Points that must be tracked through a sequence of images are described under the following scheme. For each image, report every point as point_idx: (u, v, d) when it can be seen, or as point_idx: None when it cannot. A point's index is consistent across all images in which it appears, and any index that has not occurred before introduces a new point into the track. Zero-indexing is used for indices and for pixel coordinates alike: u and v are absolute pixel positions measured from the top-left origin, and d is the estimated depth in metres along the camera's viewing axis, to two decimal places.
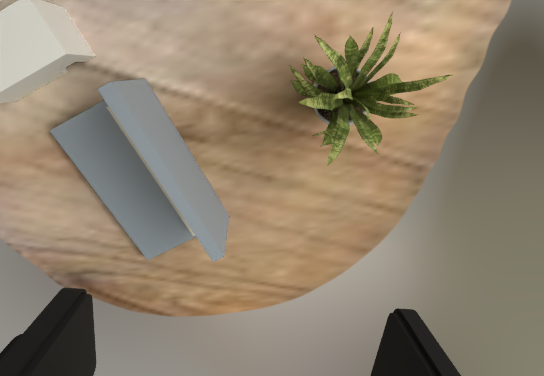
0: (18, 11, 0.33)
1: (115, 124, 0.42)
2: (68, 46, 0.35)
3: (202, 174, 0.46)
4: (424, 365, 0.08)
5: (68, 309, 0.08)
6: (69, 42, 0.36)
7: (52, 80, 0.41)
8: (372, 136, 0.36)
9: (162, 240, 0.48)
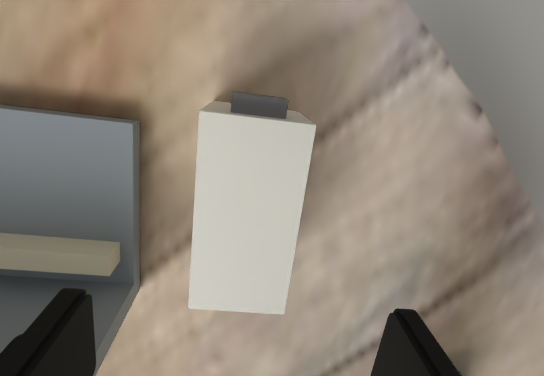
0: (275, 291, 0.20)
1: (89, 226, 0.24)
2: None
3: None
4: (424, 365, 0.08)
5: (68, 309, 0.08)
6: None
7: None
8: None
9: None
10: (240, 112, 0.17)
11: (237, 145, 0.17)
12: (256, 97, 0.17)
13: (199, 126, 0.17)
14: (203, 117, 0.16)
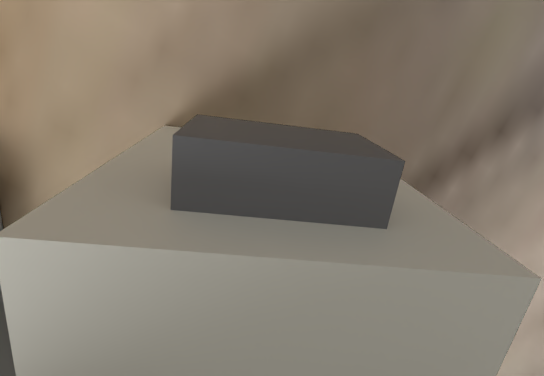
0: None
1: None
2: None
3: None
4: None
5: None
6: None
7: None
8: None
9: None
10: (211, 208, 0.04)
11: (193, 365, 0.04)
12: (276, 151, 0.04)
13: (8, 300, 0.03)
14: (19, 264, 0.03)
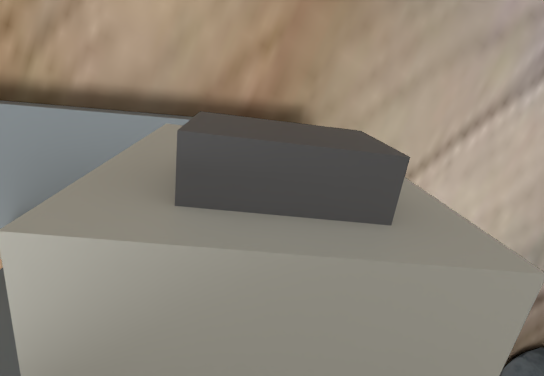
0: None
1: None
2: None
3: None
4: None
5: None
6: None
7: None
8: None
9: (9, 159, 0.23)
10: (215, 204, 0.04)
11: (198, 360, 0.04)
12: (280, 147, 0.04)
13: (13, 296, 0.03)
14: (25, 259, 0.03)
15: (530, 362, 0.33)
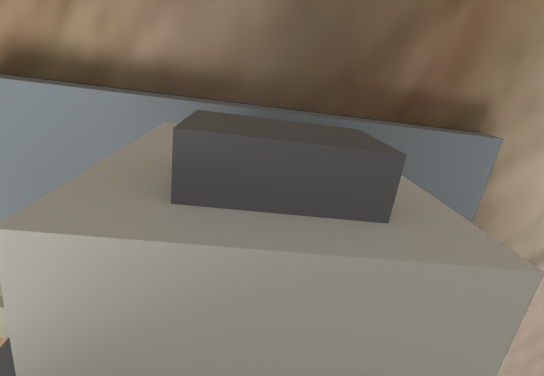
0: None
1: None
2: None
3: None
4: None
5: None
6: None
7: None
8: None
9: (25, 174, 0.14)
10: (212, 202, 0.04)
11: (194, 359, 0.04)
12: (277, 144, 0.04)
13: (8, 293, 0.03)
14: (19, 256, 0.03)
15: None
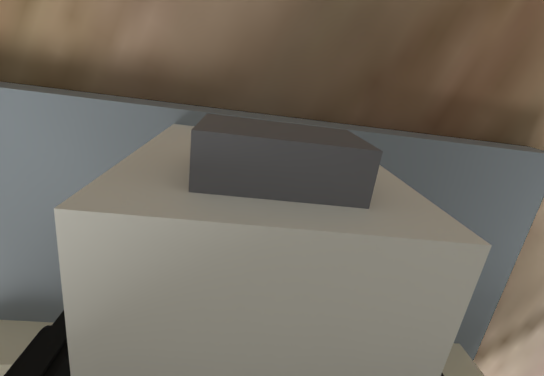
0: None
1: None
2: None
3: None
4: None
5: None
6: None
7: None
8: None
9: None
10: (222, 191, 0.05)
11: (209, 317, 0.05)
12: (276, 143, 0.05)
13: (63, 261, 0.04)
14: (74, 231, 0.04)
15: None
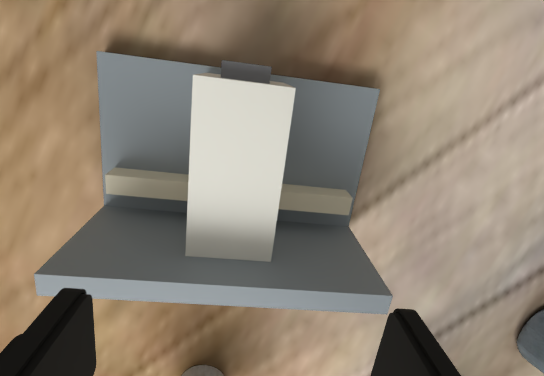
0: (262, 240, 0.23)
1: (325, 176, 0.29)
2: None
3: None
4: (424, 365, 0.08)
5: (68, 309, 0.08)
6: None
7: None
8: None
9: (122, 106, 0.26)
10: (229, 77, 0.20)
11: (226, 106, 0.19)
12: (243, 64, 0.20)
13: (193, 88, 0.19)
14: (196, 80, 0.19)
15: None
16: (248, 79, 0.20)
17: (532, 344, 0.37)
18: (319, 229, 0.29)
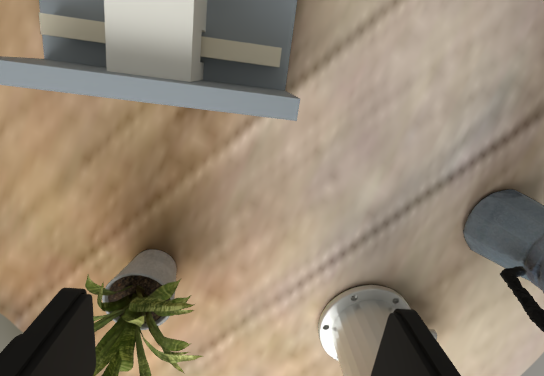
0: (180, 56, 0.24)
1: (258, 33, 0.30)
2: None
3: None
4: (424, 365, 0.08)
5: (68, 309, 0.08)
6: None
7: None
8: None
9: None
10: None
11: None
12: None
13: None
14: None
15: (496, 198, 0.37)
16: None
17: (475, 229, 0.38)
18: None
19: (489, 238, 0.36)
